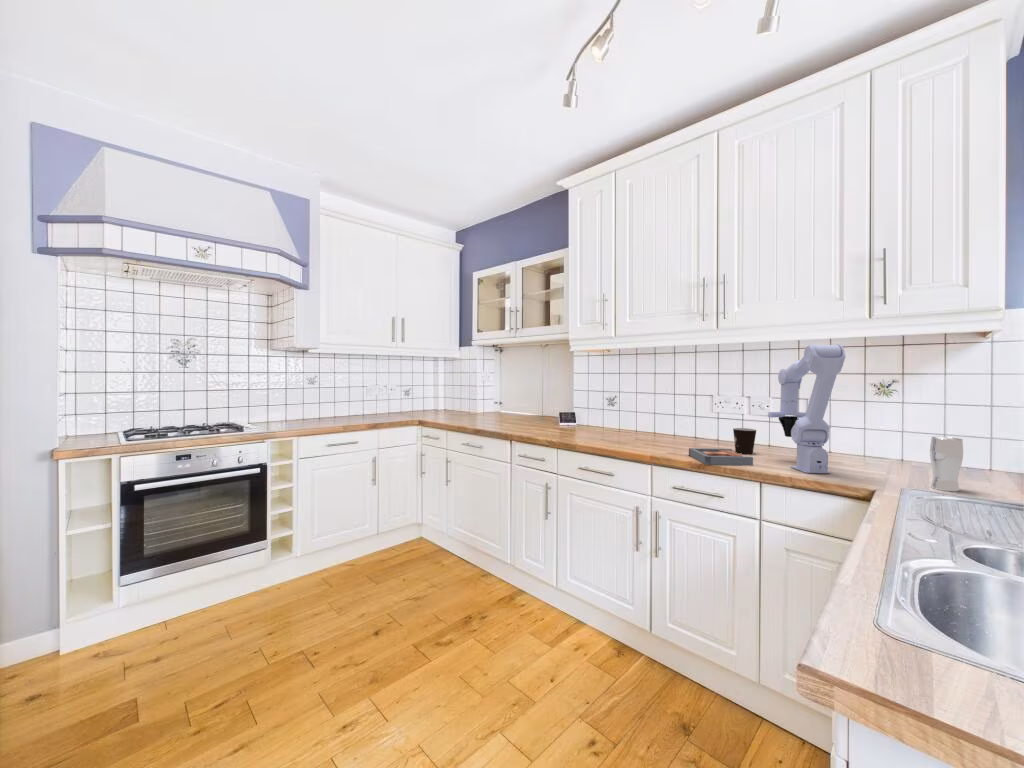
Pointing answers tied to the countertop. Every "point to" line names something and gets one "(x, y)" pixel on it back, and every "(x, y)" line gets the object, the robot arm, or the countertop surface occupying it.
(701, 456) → the dock
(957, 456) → the beer glass
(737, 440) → the coffee mug
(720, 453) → the t block
